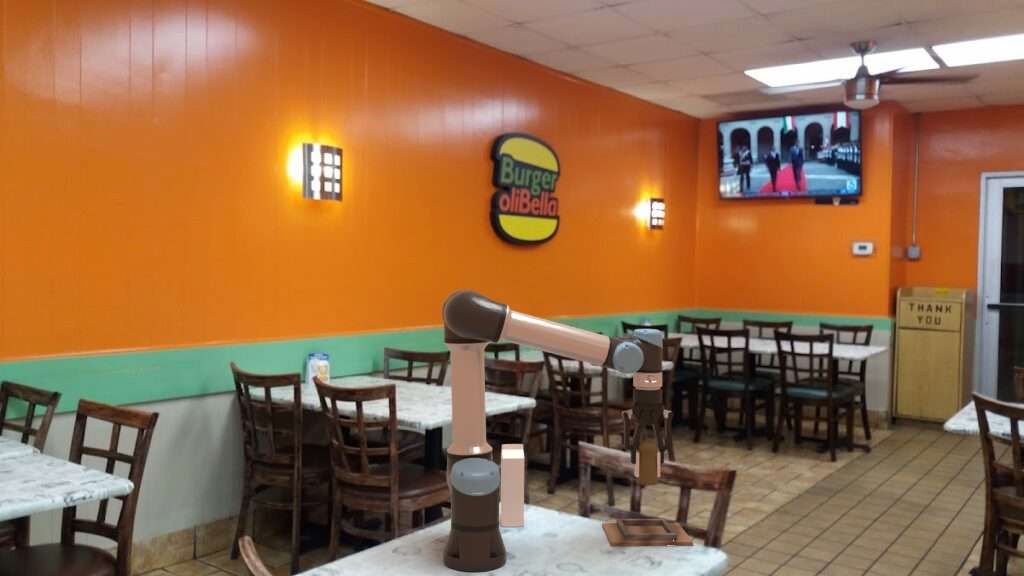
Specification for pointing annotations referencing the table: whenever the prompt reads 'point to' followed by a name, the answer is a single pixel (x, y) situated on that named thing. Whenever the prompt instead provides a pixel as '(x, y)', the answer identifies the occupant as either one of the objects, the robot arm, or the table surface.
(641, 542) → the board
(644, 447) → the brown tall rounded piece
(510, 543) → the table surface
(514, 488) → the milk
